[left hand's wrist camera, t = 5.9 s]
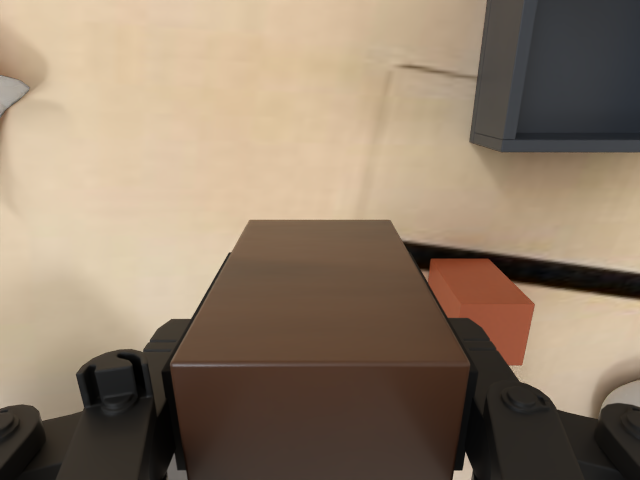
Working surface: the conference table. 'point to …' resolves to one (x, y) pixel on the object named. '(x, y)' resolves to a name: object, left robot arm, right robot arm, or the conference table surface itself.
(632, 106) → the box
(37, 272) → the conference table surface
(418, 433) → the walnut block
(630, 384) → the projector
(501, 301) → the terracotta block
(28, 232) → the conference table surface
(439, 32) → the conference table surface
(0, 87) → the fish
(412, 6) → the conference table surface
